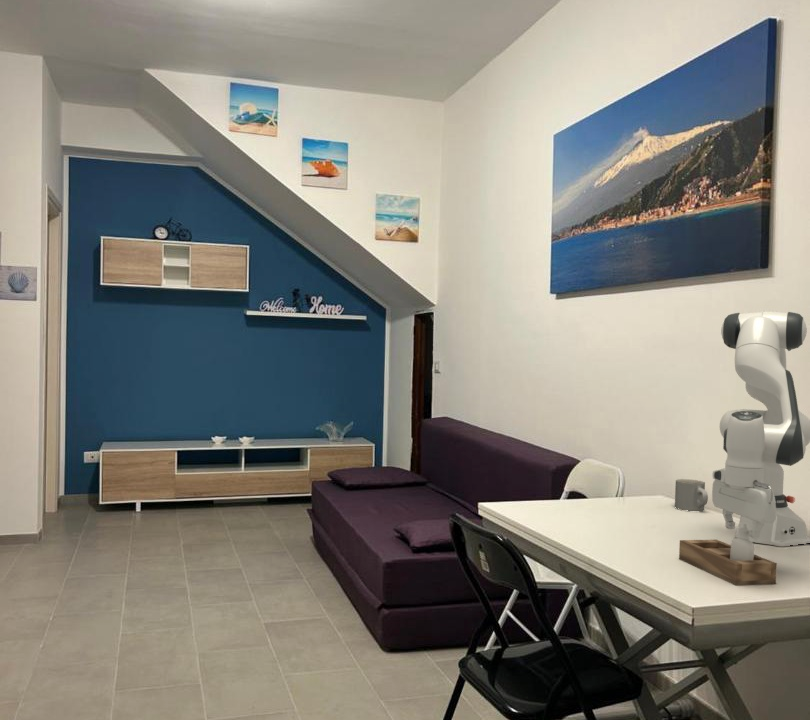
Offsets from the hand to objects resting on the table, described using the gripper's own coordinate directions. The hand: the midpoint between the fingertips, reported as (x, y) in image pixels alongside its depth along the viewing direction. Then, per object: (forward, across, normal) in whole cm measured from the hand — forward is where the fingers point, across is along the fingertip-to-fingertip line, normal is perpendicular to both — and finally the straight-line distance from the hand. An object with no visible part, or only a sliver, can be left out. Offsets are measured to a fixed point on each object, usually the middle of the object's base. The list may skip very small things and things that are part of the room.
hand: (742, 533), depth 195 cm
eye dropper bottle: (+10, 0, 0) cm, 10 cm away
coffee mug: (+13, +80, -39) cm, 90 cm away
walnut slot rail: (+11, +6, 0) cm, 12 cm away
